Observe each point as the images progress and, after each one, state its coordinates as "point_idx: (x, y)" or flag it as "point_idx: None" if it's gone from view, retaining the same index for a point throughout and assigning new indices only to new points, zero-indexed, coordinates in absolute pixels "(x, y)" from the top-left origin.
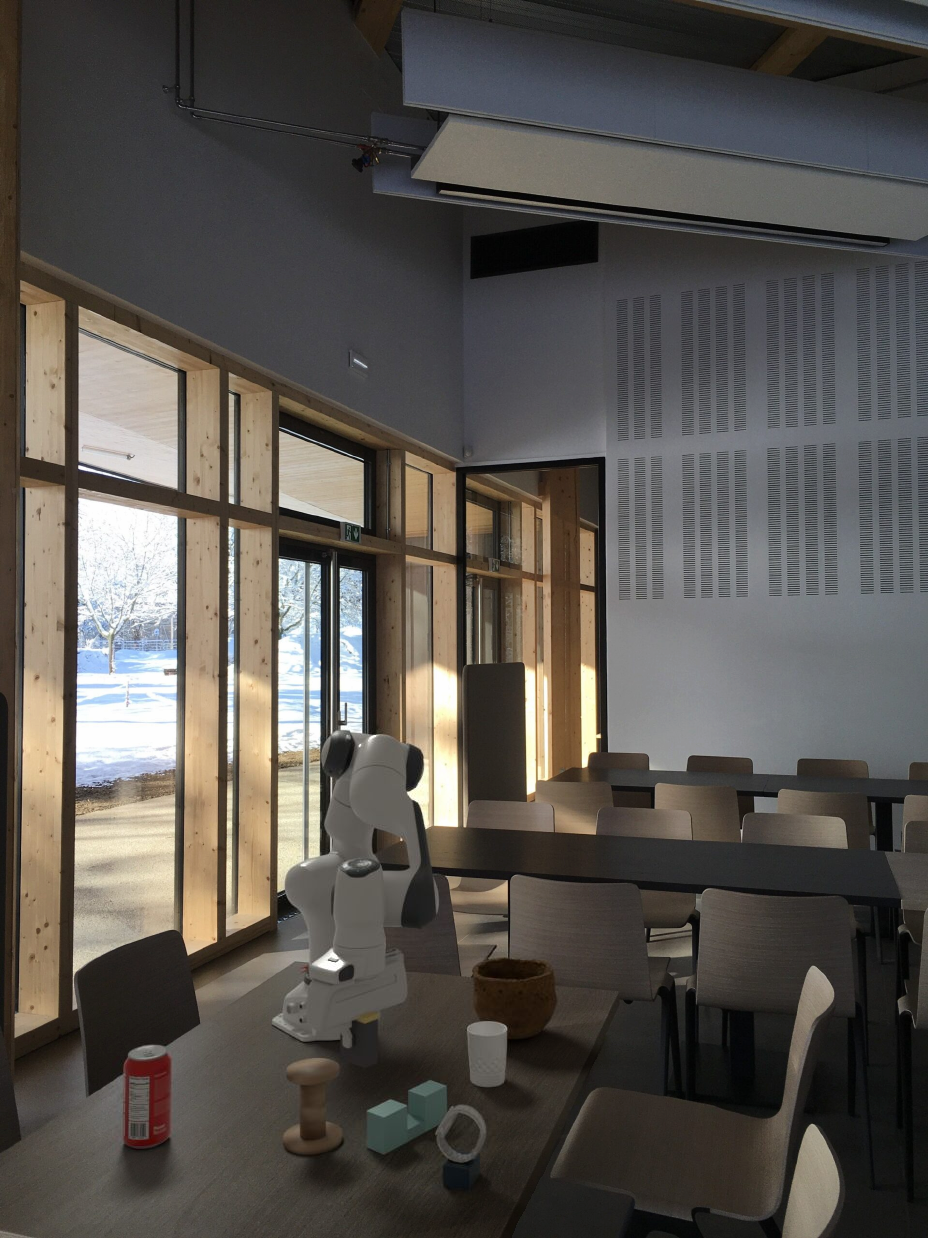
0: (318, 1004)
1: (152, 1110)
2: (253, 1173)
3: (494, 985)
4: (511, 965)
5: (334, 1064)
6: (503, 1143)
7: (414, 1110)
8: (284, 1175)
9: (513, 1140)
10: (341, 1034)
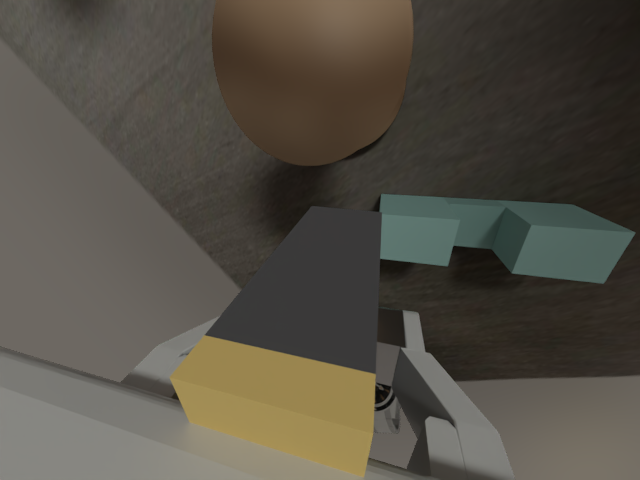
0: None
1: None
2: (214, 105)
3: None
4: None
5: (381, 100)
6: (503, 342)
7: (505, 228)
8: (244, 151)
9: (519, 349)
10: (219, 316)
